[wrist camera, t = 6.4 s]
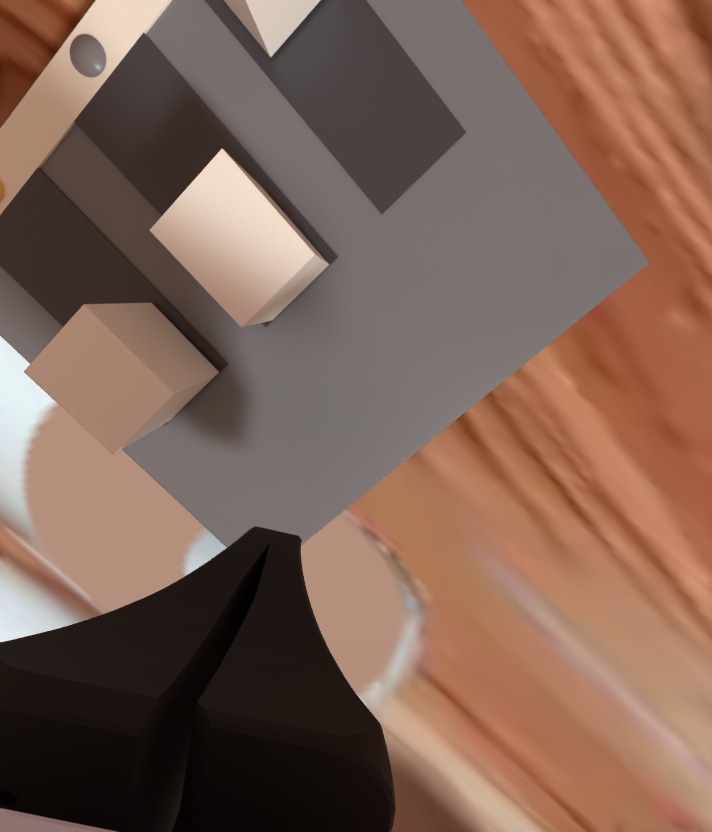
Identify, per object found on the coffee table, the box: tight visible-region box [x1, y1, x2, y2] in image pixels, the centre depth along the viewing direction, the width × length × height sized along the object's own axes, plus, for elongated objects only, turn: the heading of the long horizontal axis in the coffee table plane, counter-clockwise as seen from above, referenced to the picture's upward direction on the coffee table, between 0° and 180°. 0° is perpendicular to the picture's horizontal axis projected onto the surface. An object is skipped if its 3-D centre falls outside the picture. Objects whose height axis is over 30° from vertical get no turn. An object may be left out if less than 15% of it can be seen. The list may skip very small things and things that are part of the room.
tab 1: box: [24, 303, 219, 454], centre depth 13 cm, size 3×2×3 cm
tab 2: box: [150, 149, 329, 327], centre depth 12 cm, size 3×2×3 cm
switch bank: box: [0, 0, 650, 547], centre depth 14 cm, size 16×17×2 cm
